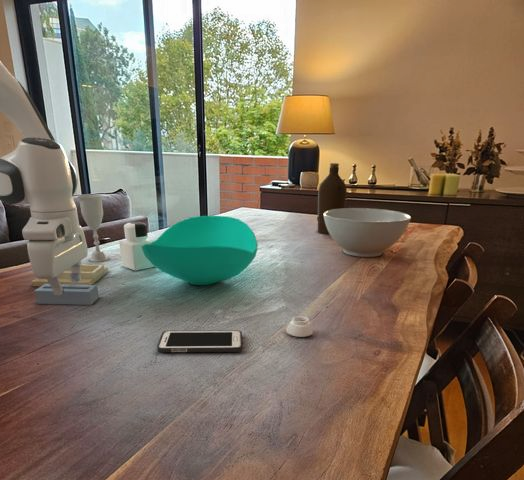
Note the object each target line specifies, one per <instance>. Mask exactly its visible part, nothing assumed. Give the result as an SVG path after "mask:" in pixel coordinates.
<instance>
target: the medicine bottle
mask: <svg viewBox="0 0 524 480" xmlns="http://www.w3.org/2000/svg"><path fill="white" fill-rule="evenodd" d="M123 231H124V232H123V233H124V239H122V240H119V250H120V251H119V252H120V259H121V265H122V267H125V268H127V269H130V270H132V271H141V270H147V269H150V268H156V267H155V266H154V265H153V264H152V263H151V262H150V261H149V260H148V259H147V258H146V257H145V255H144V253H143V250H142V246H143V245H144V244H150V243H152V242H154V241H155V240H151V239H148V238H149V235H148V227H147V224H146V223H144V222H141V221H132V222H127V223H125V224H124V225H123Z"/></svg>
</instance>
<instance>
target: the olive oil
mask: <svg viewBox="0 0 524 480" xmlns="http://www.w3.org/2000/svg"><path fill="white" fill-rule="evenodd" d="M339 165H340V164H339V163H338V162H330V164H329V173H328V175H327V176H326V177H325V178H324V179H323V180H322V181H321V183H320V184H319V187H318V193H317V217H316V220H317V233H319V234H323V235H324V234H325V235H330V234H329V232H328V229H327V227H326V224H325V220H324V212H325V211H328V210H332V209H341V208H345V207H346V199H347V191H348V190H347V185H346V183H345V181H344V180H343V178H341V176H340V174H339V170H340V167H339Z"/></svg>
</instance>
